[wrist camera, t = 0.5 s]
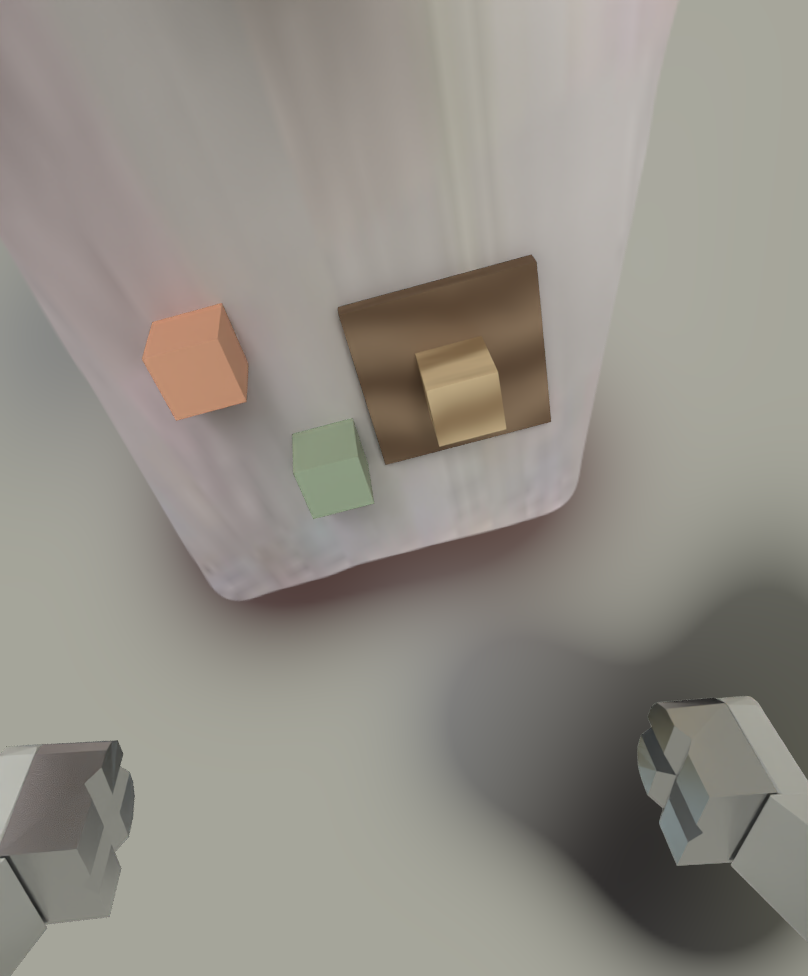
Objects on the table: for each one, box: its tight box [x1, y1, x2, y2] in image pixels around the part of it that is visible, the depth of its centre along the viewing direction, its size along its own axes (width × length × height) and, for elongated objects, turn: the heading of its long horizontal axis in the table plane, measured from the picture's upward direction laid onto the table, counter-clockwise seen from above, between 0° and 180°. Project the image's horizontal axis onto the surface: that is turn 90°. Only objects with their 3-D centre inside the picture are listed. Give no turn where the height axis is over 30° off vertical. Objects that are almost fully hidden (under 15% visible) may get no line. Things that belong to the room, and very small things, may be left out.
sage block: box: [292, 418, 374, 519], centre depth 55 cm, size 5×5×5 cm
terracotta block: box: [142, 303, 248, 421], centre depth 47 cm, size 5×5×5 cm
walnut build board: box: [338, 255, 551, 465], centre depth 50 cm, size 14×14×6 cm
